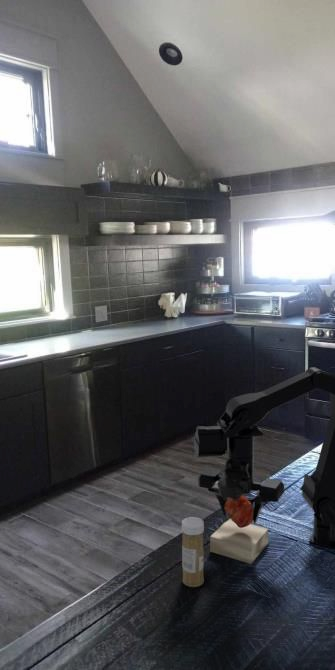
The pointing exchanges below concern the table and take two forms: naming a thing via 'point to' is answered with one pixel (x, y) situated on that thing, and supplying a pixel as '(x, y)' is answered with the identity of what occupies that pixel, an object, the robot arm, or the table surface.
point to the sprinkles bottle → (192, 551)
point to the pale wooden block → (239, 541)
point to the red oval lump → (240, 511)
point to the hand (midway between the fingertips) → (240, 519)
